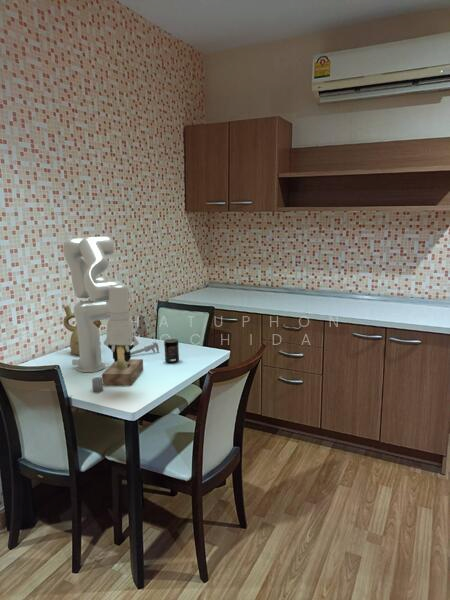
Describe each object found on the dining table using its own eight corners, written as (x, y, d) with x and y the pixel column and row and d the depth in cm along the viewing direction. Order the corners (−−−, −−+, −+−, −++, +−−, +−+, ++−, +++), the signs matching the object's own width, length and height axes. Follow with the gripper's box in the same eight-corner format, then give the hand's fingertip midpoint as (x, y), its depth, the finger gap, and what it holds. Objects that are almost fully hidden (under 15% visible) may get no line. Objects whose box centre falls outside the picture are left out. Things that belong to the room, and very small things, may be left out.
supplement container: (176, 358, 227) (175, 338, 225) (181, 362, 221) (180, 341, 219) (163, 360, 224) (162, 340, 223) (167, 364, 218) (166, 343, 216)
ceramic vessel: (99, 356, 234) (95, 308, 229) (60, 357, 234) (56, 308, 230) (108, 347, 250) (104, 301, 246) (72, 348, 251) (68, 302, 246)
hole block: (103, 385, 193) (102, 373, 192) (117, 369, 213) (116, 359, 212) (131, 385, 192) (130, 374, 191) (143, 369, 212) (142, 359, 211)
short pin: (91, 392, 185) (90, 380, 184) (94, 389, 189) (93, 377, 188) (101, 392, 185) (100, 380, 184) (104, 389, 189) (103, 377, 188)
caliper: (158, 352, 239) (157, 340, 238) (158, 353, 238) (158, 341, 237) (118, 358, 231) (117, 346, 230) (118, 358, 230) (118, 346, 229)
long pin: (115, 369, 184) (114, 345, 181) (119, 366, 187) (117, 342, 185) (125, 370, 183) (124, 345, 181) (128, 366, 187) (127, 342, 185)
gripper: (95, 317, 178) (98, 363, 182) (138, 318, 177) (140, 364, 180) (101, 313, 185) (104, 357, 189) (143, 313, 184) (145, 358, 188)
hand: (122, 360), depth 185 cm, fingers closed on long pin, 4 cm apart
